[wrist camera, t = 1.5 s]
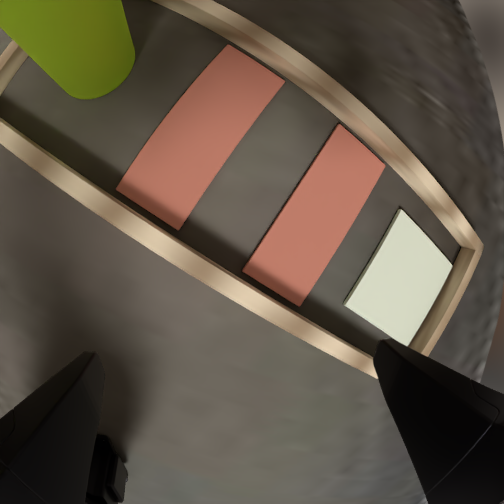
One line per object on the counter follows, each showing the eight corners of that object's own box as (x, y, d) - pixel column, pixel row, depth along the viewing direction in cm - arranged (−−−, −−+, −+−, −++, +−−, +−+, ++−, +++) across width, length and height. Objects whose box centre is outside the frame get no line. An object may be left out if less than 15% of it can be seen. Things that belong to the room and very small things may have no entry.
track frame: (-23, 119, 14) (-36, 113, 12) (100, -30, 14) (96, -43, 12) (392, 381, 26) (403, 391, 24) (470, 243, 25) (484, 246, 24)
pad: (342, 304, 23) (344, 305, 22) (398, 209, 23) (401, 209, 22) (404, 345, 25) (406, 347, 25) (449, 265, 25) (452, 265, 25)
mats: (116, 189, 18) (115, 189, 18) (227, 46, 18) (228, 44, 18) (298, 305, 22) (299, 306, 22) (383, 166, 22) (385, 165, 22)
